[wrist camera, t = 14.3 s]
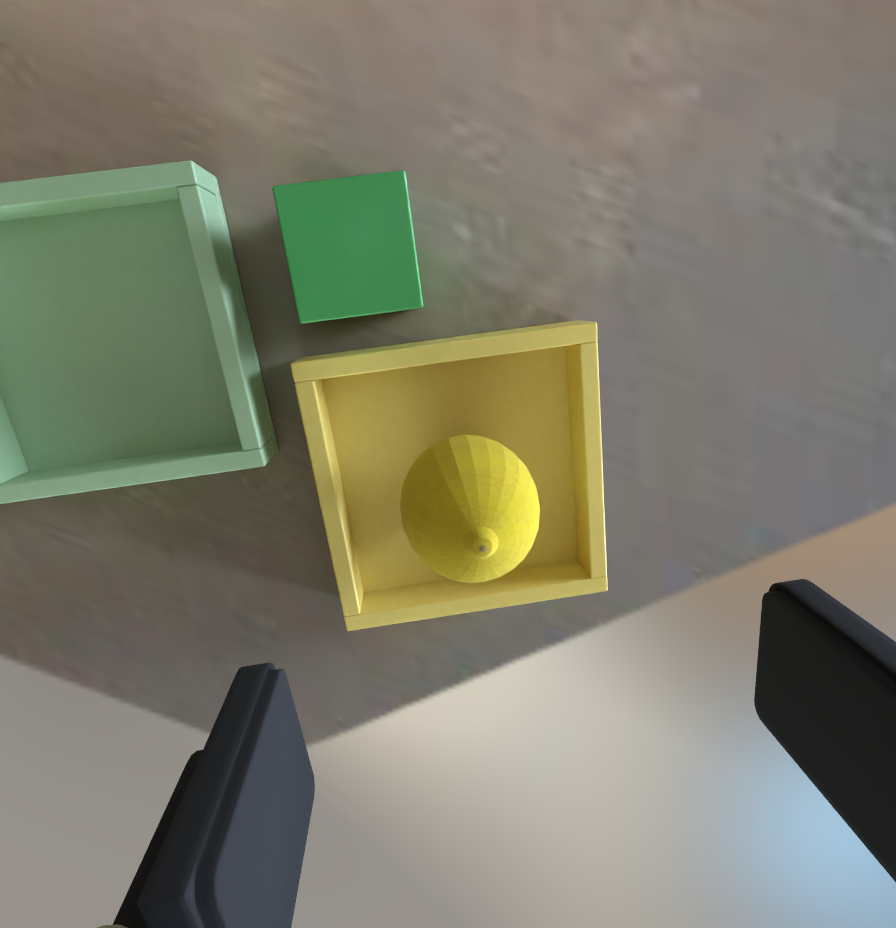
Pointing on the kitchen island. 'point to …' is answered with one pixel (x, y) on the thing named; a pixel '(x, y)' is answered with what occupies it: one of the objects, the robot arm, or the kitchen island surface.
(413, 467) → the lemon
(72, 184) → the green tray
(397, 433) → the yellow tray
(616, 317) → the kitchen island surface
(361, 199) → the green cube
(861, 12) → the kitchen island surface
